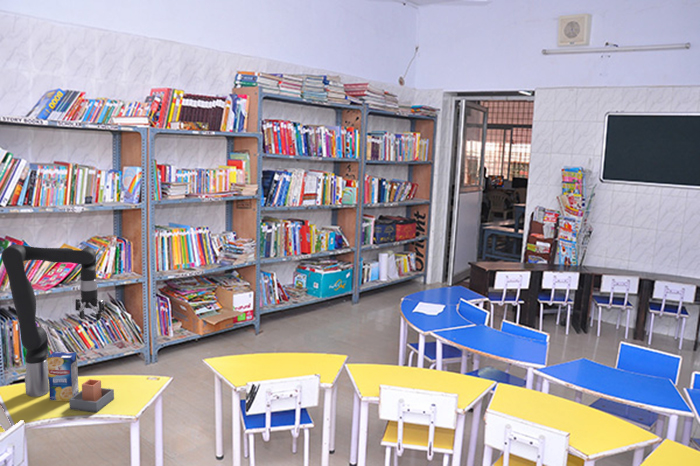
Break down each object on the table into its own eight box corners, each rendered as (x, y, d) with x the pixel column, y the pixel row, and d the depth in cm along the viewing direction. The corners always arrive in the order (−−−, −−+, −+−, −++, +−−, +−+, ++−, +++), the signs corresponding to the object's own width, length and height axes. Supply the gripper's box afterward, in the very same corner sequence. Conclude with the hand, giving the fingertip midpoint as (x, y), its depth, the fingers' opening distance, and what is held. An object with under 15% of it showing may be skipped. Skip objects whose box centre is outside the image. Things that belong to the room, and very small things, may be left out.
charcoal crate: (69, 409, 266) (69, 399, 265) (88, 395, 279) (87, 386, 278) (96, 412, 263) (96, 402, 262) (114, 398, 277) (113, 389, 276)
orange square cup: (82, 404, 269) (81, 384, 267) (90, 398, 275) (89, 379, 273) (94, 405, 268) (93, 385, 266) (101, 399, 274) (100, 380, 272)
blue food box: (72, 400, 274) (70, 357, 270) (49, 400, 273) (46, 357, 269) (78, 394, 280) (76, 352, 277) (56, 393, 280) (53, 351, 276)
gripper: (70, 289, 276) (72, 320, 279) (97, 291, 274) (98, 323, 277) (80, 285, 284) (82, 315, 287) (106, 287, 281) (107, 318, 284)
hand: (90, 319), depth 282 cm, fingers open, 8 cm apart
